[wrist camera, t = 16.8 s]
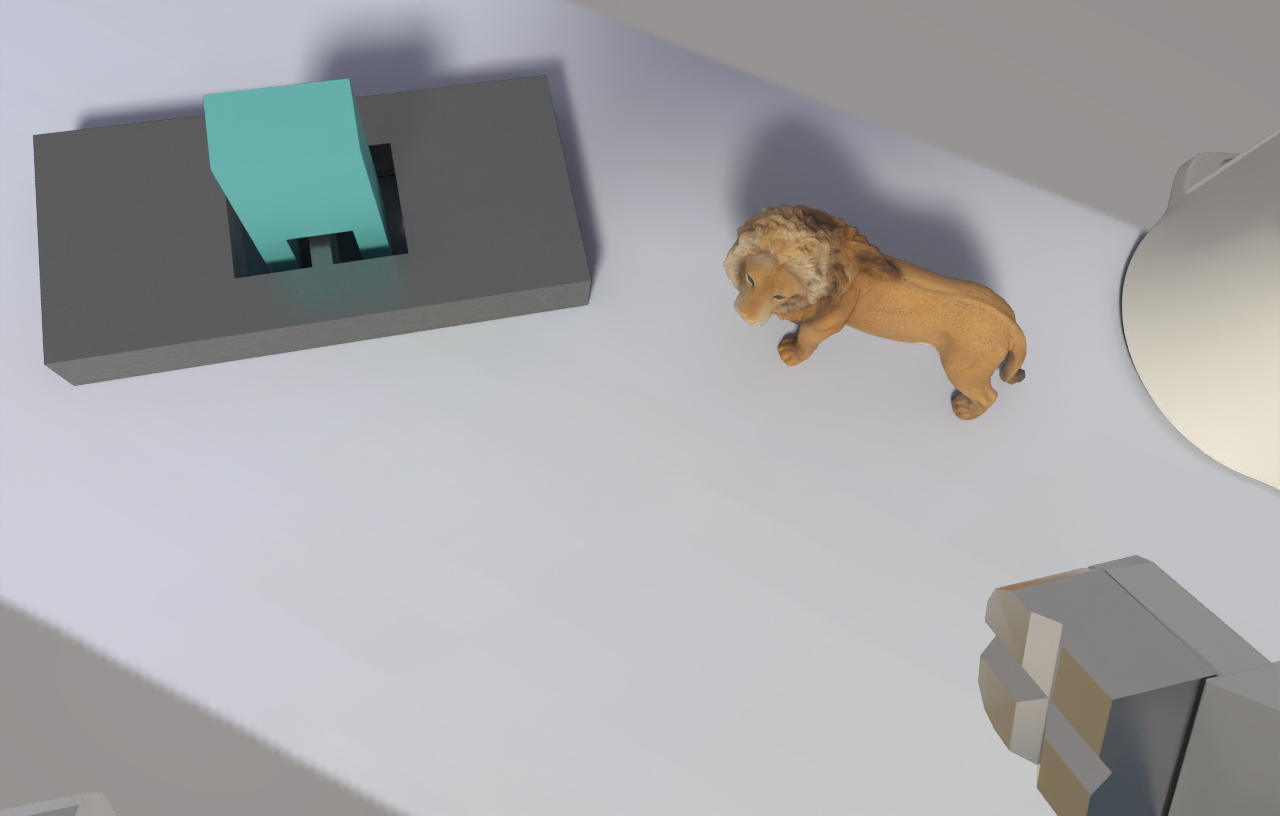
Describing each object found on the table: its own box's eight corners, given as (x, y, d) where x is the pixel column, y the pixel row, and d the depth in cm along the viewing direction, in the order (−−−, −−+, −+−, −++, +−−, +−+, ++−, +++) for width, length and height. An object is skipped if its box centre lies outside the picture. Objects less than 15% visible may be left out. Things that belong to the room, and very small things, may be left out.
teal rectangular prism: (383, 198, 42) (349, 78, 34) (393, 259, 42) (360, 151, 34) (266, 214, 42) (202, 94, 34) (273, 276, 41) (210, 169, 33)
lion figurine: (690, 376, 42) (732, 290, 33) (705, 266, 43) (748, 157, 35) (1016, 432, 42) (1139, 363, 34) (1019, 322, 44) (1136, 230, 36)
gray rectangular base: (545, 108, 45) (546, 75, 42) (587, 304, 42) (591, 280, 40) (61, 168, 41) (32, 135, 39) (74, 385, 39) (44, 364, 36)
